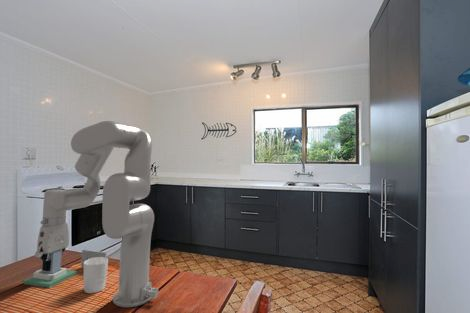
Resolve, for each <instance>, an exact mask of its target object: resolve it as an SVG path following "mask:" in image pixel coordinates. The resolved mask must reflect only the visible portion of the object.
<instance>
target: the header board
mask: <svg viewBox="0 0 470 313" xmlns="http://www.w3.org/2000/svg"><path fill="white" fill-rule="evenodd" d="M41 272H42V268H41V269H39V270H36V271H35V272H32V274H33V275H32V276H31V277H28V278H25V279H23V280H22V284H23V285H29V286H36V287H42V288H52V287H53V286H56V285H58V284H61V283H62V282H64V281H65V280H68V279H70V278H72V277H73V276H76V275H78V272H77V270H72V269H71V270H70V269H68V268H65V267H61V271H59V272H57V273H54V274H47V273H41ZM75 274H76V275H75Z"/></svg>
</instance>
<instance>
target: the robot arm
mask: <svg viewBox="0 0 470 313" xmlns="http://www.w3.org/2000/svg"><path fill="white" fill-rule="evenodd" d="M152 142H153V141H152V139H151V136H150V135H149V133H148V132H147V131H145V130H144V129H142V128H141V127H138V126H134V125H130V124H126V123H121V122H116V121H112V120H111V121H110V120H105V121H104V120H103V121H100V122H98V123H94V124H92V125H89V126H86V127H83V128H81V129H79V130H78V131H77V132H75V133H74V134H73V136H72V138H71V141H70V147H71V149H72V151H73V152H74V153H76V154H79V158H78V159H77V161H76V163H75V165H74V169H75V171H76V172H77V173H78V174H80V175H81V176H83V177H85V178H87V179H86V182H85V184H84V186H83V188H79V189H69V190H65V189H61V188H59V189H58V188H57V189H56V188H54V189H47V190H46V191H44V193H43V207H42V220H41V221H40V227H39V228H40V229H39V233H38V236H37V237H38V238H37V246H36V251H35V253H34V257H36V258H38V259H40V261H42V260H43V265H42V264H41V269H42V270H43V271H50V267H51V260H50V255H51V253H52V252H55V251H58V250H62V255H61V257H62V256H63V255H64V254H63V253H64V251H66V250H65V249H67V248H68V247H69V241H70V235H69V232H70V231H69V230H70V229H69V224H68V223H67V222H66V220H67V211H70V210H71V211H72V210H76V209H77V210H78V209H82V208H87V207H89V206H90V205H91V204H93V202H94V201H95V199H96V197H97V196H98V194H99V193H100V189H101V178H100V173H101V171H102V169H103V168H104V166H105V164H106V162H107V160H108V158H109V157H110V155H111V153H112V152H113V150H114V148H118V149H128V151H127V153H126V155H125V159H124V171H123V172H117V173H114V174H111V175H110V176H109V177H108V178H107V179H106V180H105V183H104V185H103V189H102V206H101V207H102V210H101V213H102V214H101V215H102V216H101V217H102V218H101V222H102V223H101V224H102V229H103V230H102V231H103V232H104V234H105V235H106V236H107V237H108V238H109V239H112V240H120V239H122V240H121V243H120V252H119V274H118V291H117V292H116V293H115V294H113V297H112V302H113V304H114V305H115V306H116V307H120V308H134V307H138V306H142V305H144V304H146V303H148V302H149V301H150V300H151V299H152V298H156V299H157V297H159V296H158V295H159V288H158V287H153V286H152V283H153V282H152V281H150V258H151V257H150V256H151V244H152V243H151V240H152V232H153V229H154V223H155V213H154V210H153V209H152V208H151V206H150V205H147V204H145V203H134V204H130V202H134V201H135V202H136V201H140V200H143V199H145V198H147V197H148V196H149V195H150V192H151V170H152V168H151V167H152V165H151V162H152V160H151V159H152V158H151V157H152V150H153V149H152V147H153V144H152ZM46 254H47V256H46Z"/></svg>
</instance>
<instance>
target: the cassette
mask: <svg viewBox="0 0 470 313" xmlns="http://www.w3.org/2000/svg"><path fill="white" fill-rule="evenodd" d="M95 257H106V258H108V257H107V252H106V251H100V250H99V251H98V250H91V249H83V250H81V266H80V267H84V261H86V260H88V259H91V258H95Z"/></svg>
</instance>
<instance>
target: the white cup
mask: <svg viewBox="0 0 470 313" xmlns="http://www.w3.org/2000/svg"><path fill="white" fill-rule="evenodd" d="M108 266H109V258H108V257H95V258H91V259H88V260H86V261H84V268H83V292H84V293H87V294H95V293H99V292H101V291H103V290H104V289H106V282H107V276H108Z"/></svg>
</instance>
